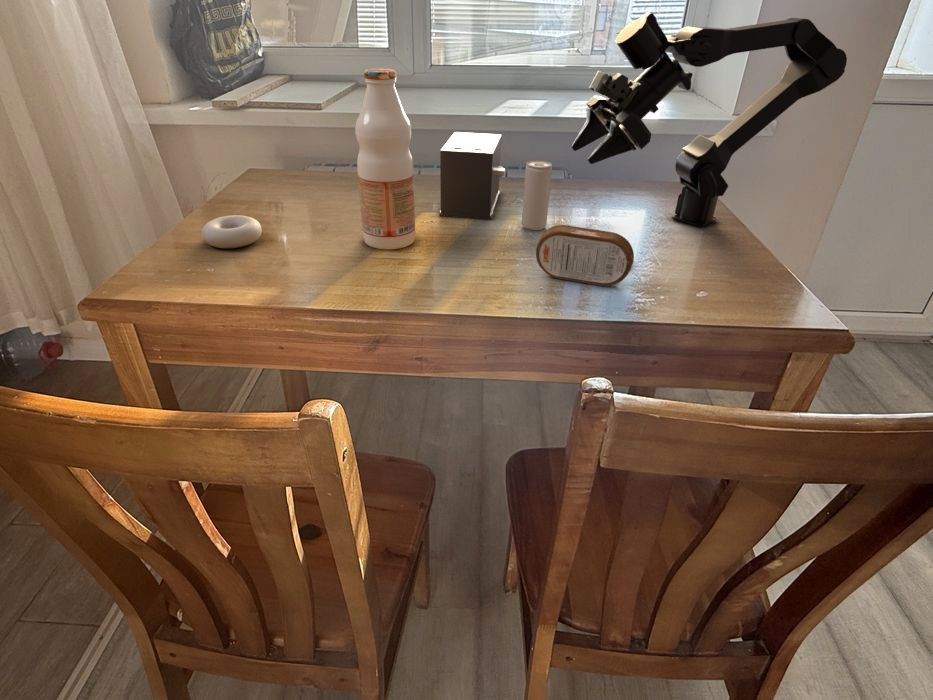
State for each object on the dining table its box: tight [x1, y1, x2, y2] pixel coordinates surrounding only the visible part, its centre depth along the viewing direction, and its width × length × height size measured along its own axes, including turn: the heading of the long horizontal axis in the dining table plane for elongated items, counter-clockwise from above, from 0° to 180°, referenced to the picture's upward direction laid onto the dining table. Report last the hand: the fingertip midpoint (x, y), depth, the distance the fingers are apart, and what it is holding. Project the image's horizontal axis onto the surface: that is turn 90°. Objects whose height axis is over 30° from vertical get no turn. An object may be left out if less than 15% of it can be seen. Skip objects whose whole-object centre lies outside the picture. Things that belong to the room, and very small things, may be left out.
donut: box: [201, 214, 263, 249], centre depth 103 cm, size 10×4×10 cm
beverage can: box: [521, 160, 553, 231], centre depth 109 cm, size 5×5×12 cm
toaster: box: [438, 131, 506, 221], centre depth 119 cm, size 12×16×13 cm
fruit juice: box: [354, 67, 416, 250], centre depth 97 cm, size 9×9×28 cm
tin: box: [535, 224, 635, 287], centre depth 90 cm, size 15×3×8 cm, turn 71°
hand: (580, 155), depth 106 cm, fingers open, 9 cm apart
